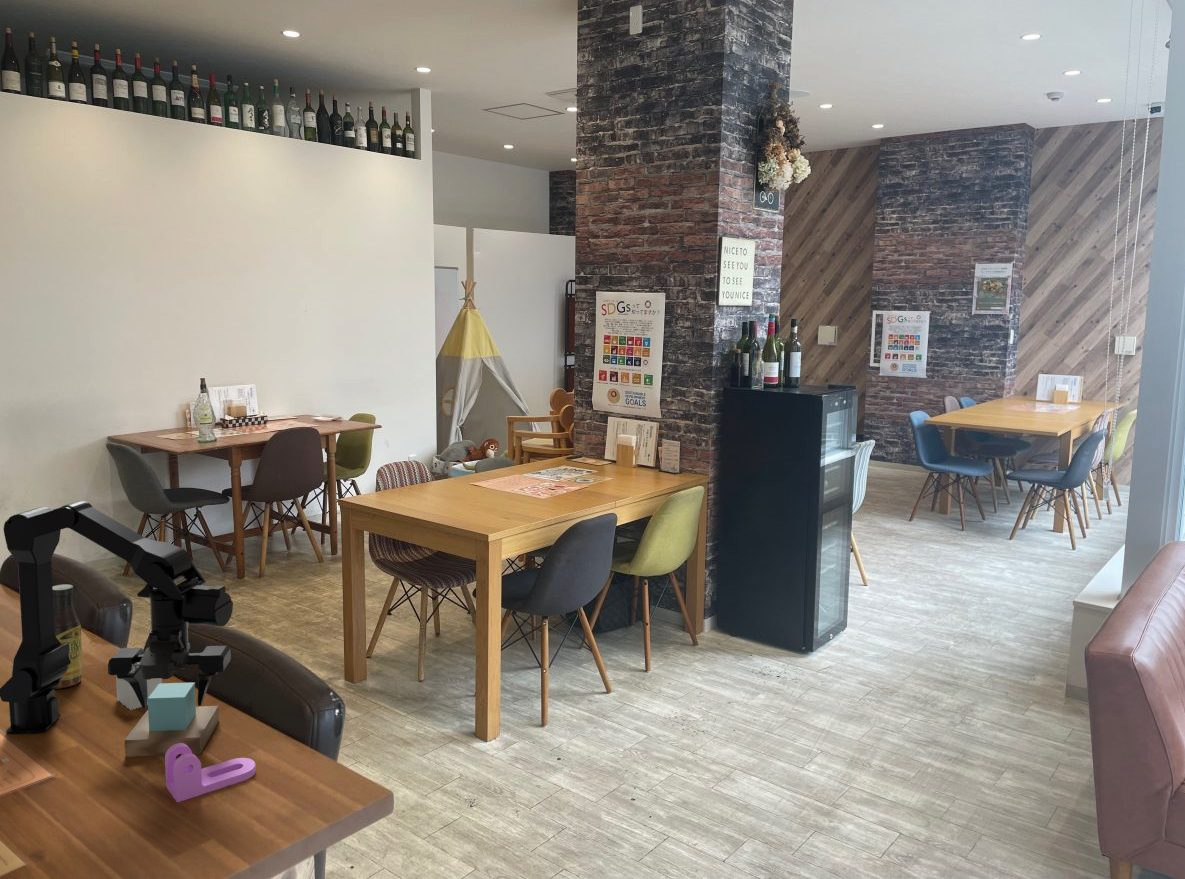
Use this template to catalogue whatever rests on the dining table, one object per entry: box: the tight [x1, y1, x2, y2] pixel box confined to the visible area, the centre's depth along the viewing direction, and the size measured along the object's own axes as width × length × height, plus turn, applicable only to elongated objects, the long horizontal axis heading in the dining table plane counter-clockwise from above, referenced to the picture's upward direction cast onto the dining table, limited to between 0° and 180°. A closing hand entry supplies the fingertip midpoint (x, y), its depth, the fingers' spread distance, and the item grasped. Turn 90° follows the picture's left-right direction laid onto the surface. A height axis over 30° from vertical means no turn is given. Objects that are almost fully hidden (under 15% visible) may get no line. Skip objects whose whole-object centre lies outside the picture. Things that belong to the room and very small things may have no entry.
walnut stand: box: [124, 705, 220, 758], centre depth 156 cm, size 12×12×3 cm
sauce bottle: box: [52, 584, 83, 689], centre depth 175 cm, size 6×6×20 cm
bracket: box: [164, 743, 257, 803], centre depth 143 cm, size 13×6×7 cm, turn 132°
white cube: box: [115, 675, 163, 711], centre depth 170 cm, size 6×6×6 cm
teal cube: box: [147, 682, 197, 731], centre depth 156 cm, size 6×6×6 cm
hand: (172, 706), depth 156 cm, fingers open, 9 cm apart
